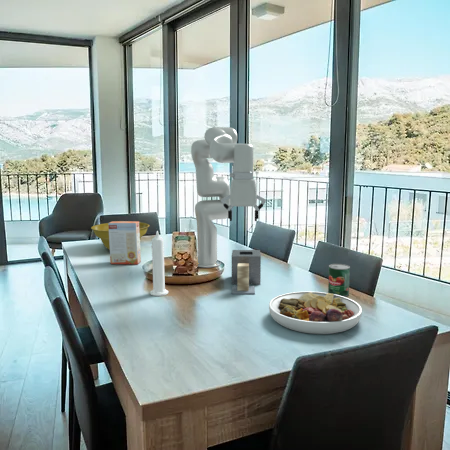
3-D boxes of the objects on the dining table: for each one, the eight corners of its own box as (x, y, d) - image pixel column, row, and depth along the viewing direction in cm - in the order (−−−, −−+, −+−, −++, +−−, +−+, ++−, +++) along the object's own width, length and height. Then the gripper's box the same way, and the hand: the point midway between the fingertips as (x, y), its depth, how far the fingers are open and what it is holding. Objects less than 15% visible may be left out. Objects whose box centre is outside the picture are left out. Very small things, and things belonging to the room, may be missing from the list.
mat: (231, 294, 177) (231, 292, 177) (232, 287, 186) (232, 285, 186) (254, 294, 176) (254, 292, 176) (254, 287, 185) (254, 285, 185)
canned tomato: (349, 291, 180) (350, 264, 178) (348, 297, 172) (350, 269, 170) (328, 289, 182) (329, 263, 180) (327, 296, 174) (328, 268, 172)
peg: (237, 290, 179) (237, 266, 177) (237, 287, 183) (237, 263, 182) (248, 290, 179) (248, 266, 177) (248, 287, 183) (248, 263, 181)
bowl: (254, 310, 160) (254, 289, 158) (328, 300, 170) (328, 280, 169) (296, 344, 132) (296, 318, 131) (381, 330, 142) (382, 306, 141)
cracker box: (141, 261, 228) (139, 220, 225) (137, 264, 222) (136, 222, 219) (114, 261, 230) (112, 220, 226) (110, 264, 224) (107, 222, 220)
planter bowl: (102, 243, 275) (101, 221, 272) (155, 243, 273) (154, 221, 271) (83, 255, 243) (82, 230, 241) (143, 255, 242) (142, 230, 239)
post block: (231, 284, 190) (231, 256, 188) (232, 276, 202) (232, 249, 200) (260, 284, 189) (260, 256, 187) (259, 276, 201) (259, 250, 199)
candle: (164, 296, 174) (163, 232, 170) (147, 295, 176) (145, 232, 172) (170, 291, 181) (169, 229, 177) (153, 290, 183) (151, 228, 178)
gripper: (220, 177, 171) (220, 222, 173) (266, 177, 170) (265, 222, 173) (221, 176, 178) (221, 219, 181) (265, 175, 177) (265, 219, 180)
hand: (243, 220), depth 177 cm, fingers open, 9 cm apart
